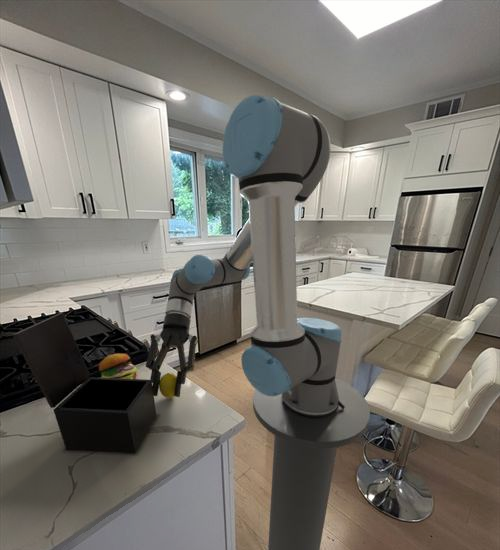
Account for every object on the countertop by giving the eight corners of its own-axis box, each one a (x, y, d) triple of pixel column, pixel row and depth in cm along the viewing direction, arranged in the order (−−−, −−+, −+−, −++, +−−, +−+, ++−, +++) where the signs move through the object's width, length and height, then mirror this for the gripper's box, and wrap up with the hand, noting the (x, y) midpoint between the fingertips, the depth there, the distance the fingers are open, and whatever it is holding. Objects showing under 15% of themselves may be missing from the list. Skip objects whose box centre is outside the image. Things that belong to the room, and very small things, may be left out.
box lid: (63, 312, 62) (59, 313, 62) (15, 334, 50) (12, 334, 50) (90, 375, 68) (87, 375, 68) (54, 407, 56) (50, 408, 56)
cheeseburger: (114, 394, 80) (103, 362, 77) (98, 389, 86) (87, 359, 84) (145, 378, 87) (135, 349, 85) (128, 375, 94) (119, 347, 91)
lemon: (176, 389, 82) (173, 366, 79) (184, 398, 78) (181, 374, 75) (157, 396, 79) (154, 372, 76) (165, 406, 75) (162, 380, 72)
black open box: (156, 415, 72) (151, 379, 67) (135, 453, 60) (127, 413, 56) (98, 412, 72) (89, 377, 68) (66, 450, 61) (53, 409, 56)
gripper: (210, 323, 86) (202, 399, 77) (152, 322, 87) (137, 396, 78) (206, 312, 79) (196, 394, 70) (142, 311, 80) (125, 391, 71)
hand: (165, 395), depth 74 cm, fingers closed on lemon, 5 cm apart
